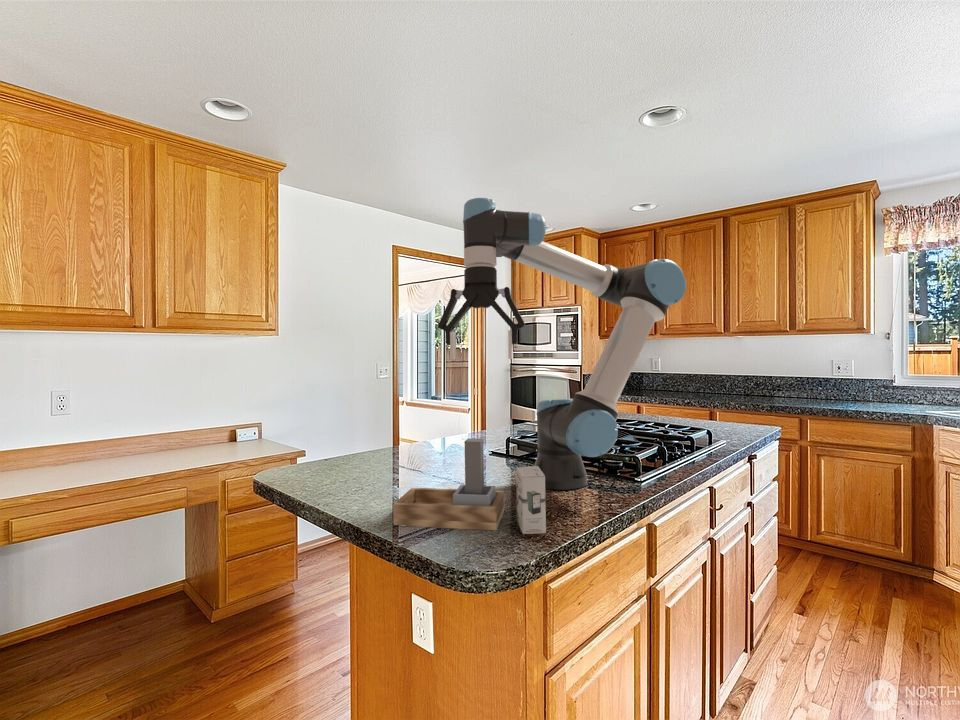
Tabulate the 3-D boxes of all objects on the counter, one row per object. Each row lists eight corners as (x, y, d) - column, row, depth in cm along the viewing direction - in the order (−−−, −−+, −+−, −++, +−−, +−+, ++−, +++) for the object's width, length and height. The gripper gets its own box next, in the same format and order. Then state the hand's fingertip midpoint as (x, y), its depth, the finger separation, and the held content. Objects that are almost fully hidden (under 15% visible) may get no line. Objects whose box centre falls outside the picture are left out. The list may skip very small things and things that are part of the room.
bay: (504, 510, 115) (504, 490, 115) (496, 530, 102) (496, 508, 102) (412, 506, 119) (412, 487, 119) (393, 525, 106) (393, 504, 106)
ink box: (515, 520, 108) (515, 465, 108) (538, 519, 109) (537, 465, 109) (522, 534, 100) (521, 475, 100) (546, 533, 100) (546, 474, 100)
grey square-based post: (495, 505, 113) (494, 437, 113) (490, 517, 105) (489, 443, 105) (461, 503, 114) (459, 436, 114) (453, 515, 107) (451, 443, 106)
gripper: (535, 267, 118) (536, 358, 118) (432, 272, 122) (434, 359, 123) (533, 262, 111) (534, 358, 111) (423, 267, 115) (425, 360, 115)
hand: (481, 359), depth 117 cm, fingers open, 13 cm apart
